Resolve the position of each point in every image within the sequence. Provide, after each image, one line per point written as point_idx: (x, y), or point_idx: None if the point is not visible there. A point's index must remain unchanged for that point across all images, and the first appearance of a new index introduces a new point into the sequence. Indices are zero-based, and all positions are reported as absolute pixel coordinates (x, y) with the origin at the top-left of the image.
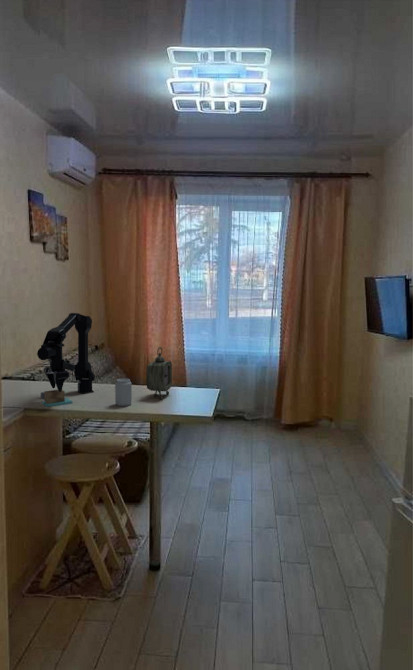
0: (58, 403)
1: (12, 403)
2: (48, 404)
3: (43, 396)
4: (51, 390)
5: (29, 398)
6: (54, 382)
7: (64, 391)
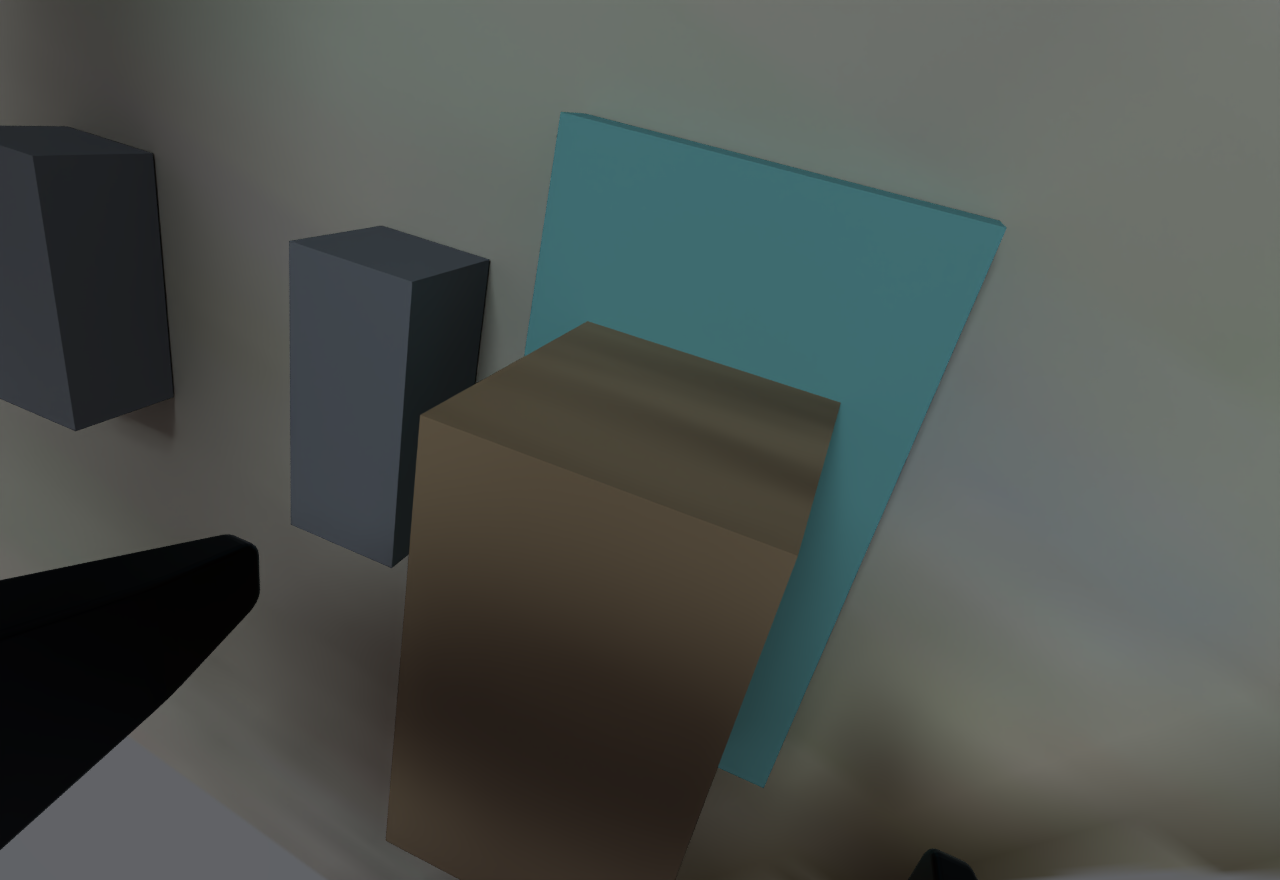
0: (850, 587)
1: (252, 793)
2: (772, 760)
3: (138, 388)
4: (403, 701)
5: (92, 511)
6: (35, 673)
7: (799, 546)
